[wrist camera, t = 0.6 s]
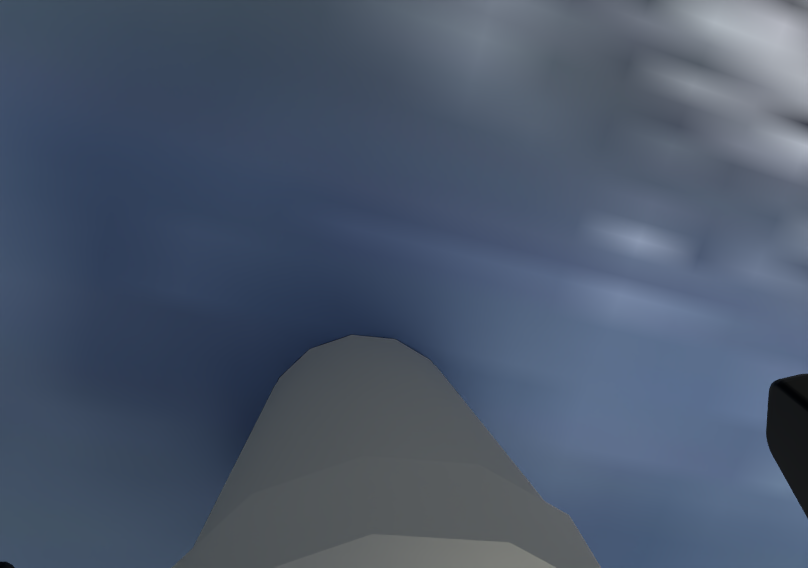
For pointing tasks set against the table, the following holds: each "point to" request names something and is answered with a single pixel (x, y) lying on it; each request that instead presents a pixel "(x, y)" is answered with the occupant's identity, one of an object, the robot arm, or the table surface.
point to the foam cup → (378, 476)
